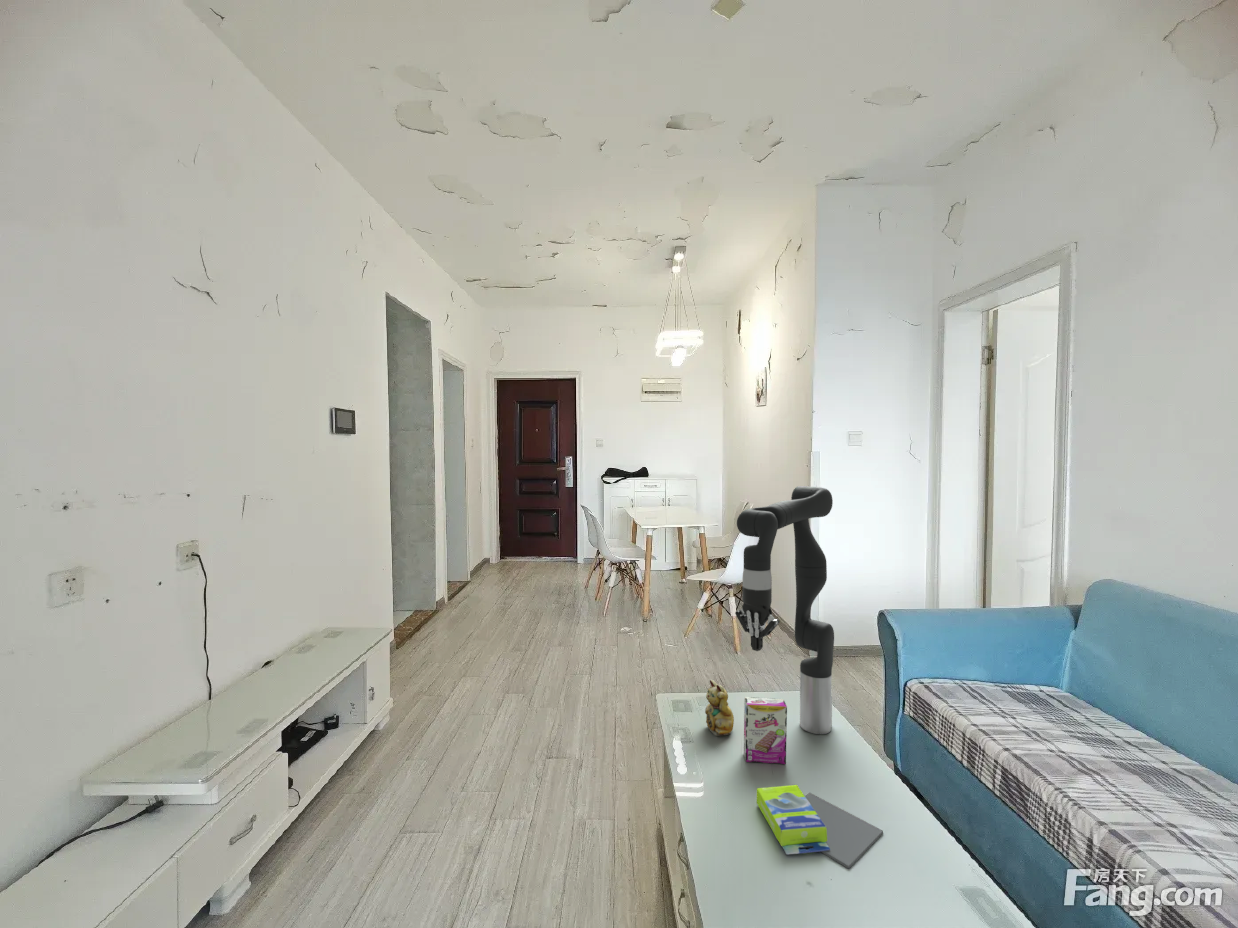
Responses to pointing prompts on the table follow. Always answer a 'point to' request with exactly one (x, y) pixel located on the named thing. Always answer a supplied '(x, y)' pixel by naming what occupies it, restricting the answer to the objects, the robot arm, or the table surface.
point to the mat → (844, 832)
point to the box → (792, 819)
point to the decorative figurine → (718, 711)
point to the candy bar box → (765, 730)
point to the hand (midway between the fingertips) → (756, 649)
